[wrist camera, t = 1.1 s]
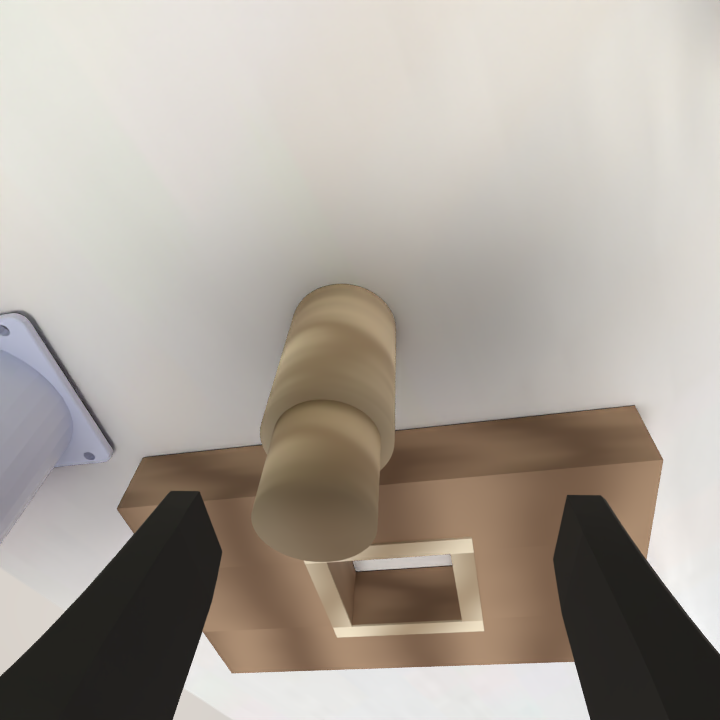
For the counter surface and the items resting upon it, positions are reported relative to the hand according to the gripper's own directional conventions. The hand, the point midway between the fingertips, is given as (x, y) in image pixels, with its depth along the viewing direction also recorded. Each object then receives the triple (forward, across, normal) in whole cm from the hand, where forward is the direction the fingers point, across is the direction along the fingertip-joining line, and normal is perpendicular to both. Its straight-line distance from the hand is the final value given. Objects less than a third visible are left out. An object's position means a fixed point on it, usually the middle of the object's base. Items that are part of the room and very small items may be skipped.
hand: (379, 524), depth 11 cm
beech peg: (+11, +2, +2) cm, 11 cm away
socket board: (+11, 0, +15) cm, 19 cm away
